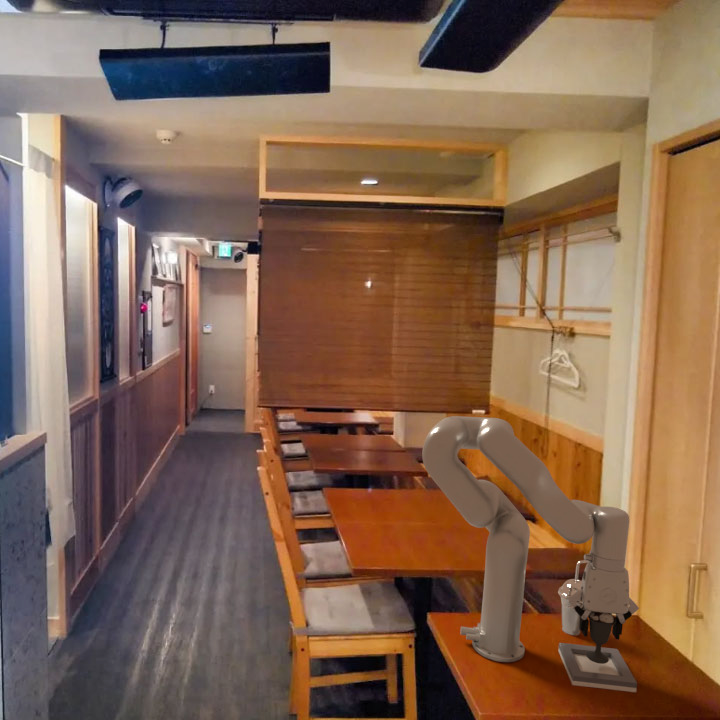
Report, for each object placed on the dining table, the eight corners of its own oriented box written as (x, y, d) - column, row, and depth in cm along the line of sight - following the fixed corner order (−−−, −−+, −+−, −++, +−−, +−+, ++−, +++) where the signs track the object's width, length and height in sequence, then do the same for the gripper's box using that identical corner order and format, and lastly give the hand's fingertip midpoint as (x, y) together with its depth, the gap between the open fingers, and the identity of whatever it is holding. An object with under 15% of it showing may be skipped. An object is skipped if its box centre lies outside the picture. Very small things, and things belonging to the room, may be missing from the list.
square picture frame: (572, 684, 143) (573, 675, 142) (558, 651, 157) (559, 642, 156) (636, 692, 142) (637, 683, 141) (616, 657, 155) (617, 649, 155)
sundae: (615, 668, 145) (621, 605, 143) (584, 663, 146) (590, 600, 145) (610, 652, 151) (615, 592, 150) (580, 648, 152) (586, 588, 151)
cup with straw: (555, 619, 173) (562, 548, 171) (590, 627, 169) (598, 555, 167) (553, 634, 165) (560, 560, 163) (589, 643, 161) (598, 567, 160)
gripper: (573, 564, 143) (565, 639, 145) (652, 571, 142) (643, 647, 144) (565, 551, 151) (558, 623, 153) (640, 558, 150) (632, 630, 151)
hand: (599, 634), depth 148 cm, fingers closed on sundae, 6 cm apart
